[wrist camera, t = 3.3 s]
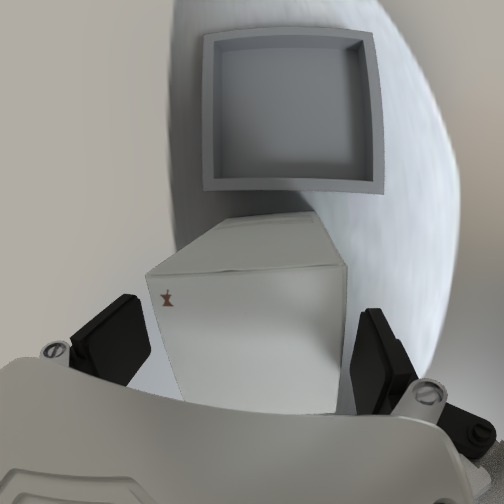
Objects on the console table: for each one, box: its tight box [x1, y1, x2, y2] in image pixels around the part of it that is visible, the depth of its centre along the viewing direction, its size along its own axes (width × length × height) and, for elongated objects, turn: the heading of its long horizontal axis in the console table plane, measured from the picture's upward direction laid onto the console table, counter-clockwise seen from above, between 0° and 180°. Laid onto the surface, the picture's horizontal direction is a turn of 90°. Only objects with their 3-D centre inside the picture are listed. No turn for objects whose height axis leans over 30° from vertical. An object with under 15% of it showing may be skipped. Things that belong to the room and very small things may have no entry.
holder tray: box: [202, 27, 385, 195], centre depth 17 cm, size 12×12×3 cm
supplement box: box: [145, 211, 348, 415], centre depth 16 cm, size 7×7×13 cm
